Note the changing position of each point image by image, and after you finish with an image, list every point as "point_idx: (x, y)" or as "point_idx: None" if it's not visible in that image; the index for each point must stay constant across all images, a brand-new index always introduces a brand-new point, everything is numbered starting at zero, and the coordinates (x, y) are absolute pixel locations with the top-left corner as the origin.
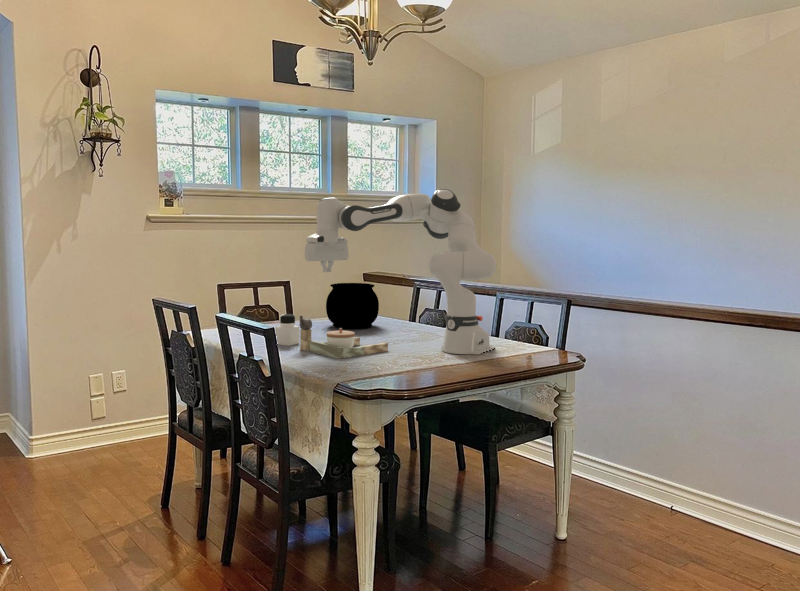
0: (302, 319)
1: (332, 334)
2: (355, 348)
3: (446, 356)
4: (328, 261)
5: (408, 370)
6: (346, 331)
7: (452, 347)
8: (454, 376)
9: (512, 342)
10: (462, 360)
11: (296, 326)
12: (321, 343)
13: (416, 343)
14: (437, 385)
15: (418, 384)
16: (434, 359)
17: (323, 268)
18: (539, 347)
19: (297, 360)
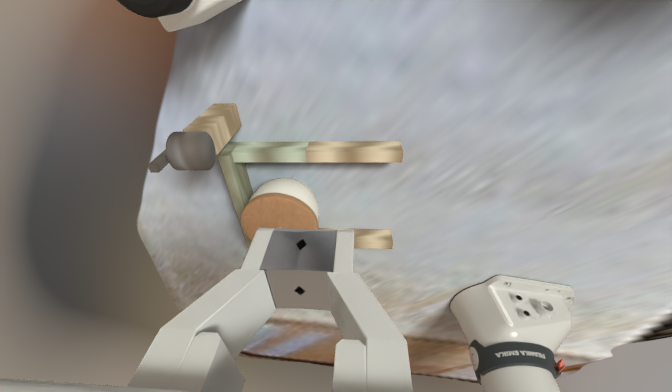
0: (165, 164)
1: (245, 233)
2: None
3: (425, 309)
4: (334, 386)
5: (303, 321)
6: (299, 228)
7: (456, 316)
8: (327, 353)
9: (649, 313)
10: (415, 329)
11: (209, 2)
12: (233, 196)
13: (520, 220)
14: (282, 358)
15: (267, 349)
16: (390, 309)
17: (247, 265)
18: (607, 346)
19: (168, 198)
